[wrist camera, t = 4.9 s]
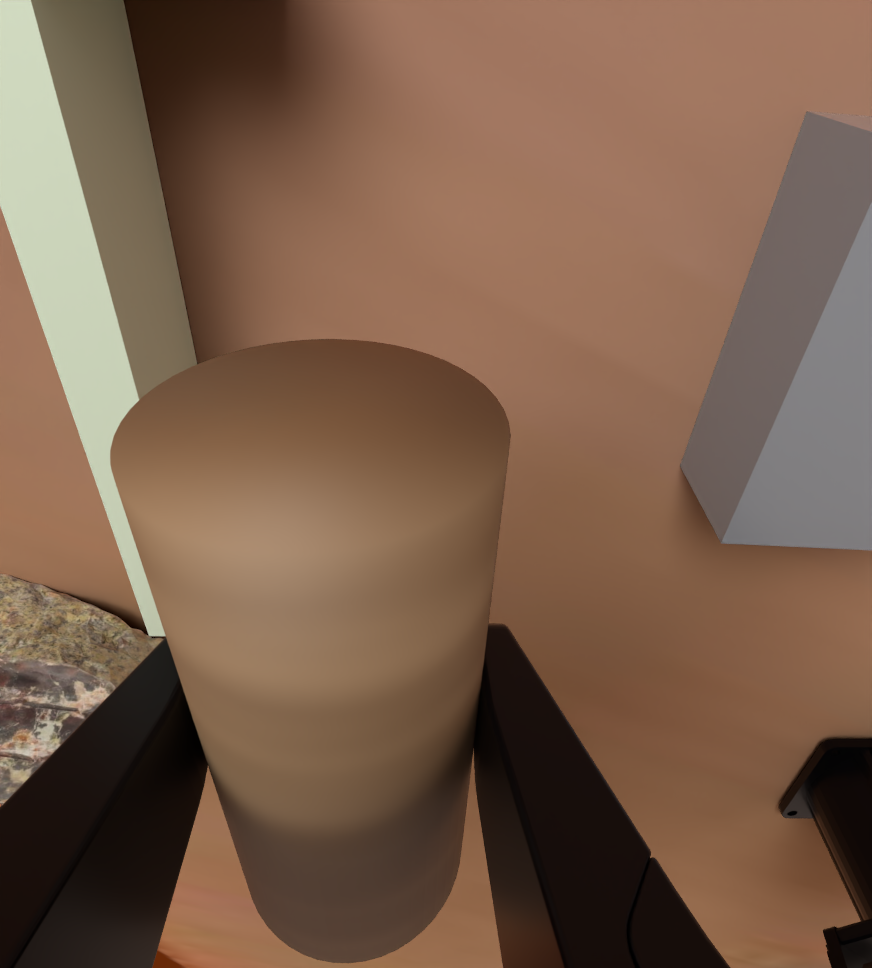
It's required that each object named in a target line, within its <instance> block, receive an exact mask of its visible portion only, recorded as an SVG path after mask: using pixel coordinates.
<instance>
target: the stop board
mask: <svg viewBox="0 0 872 968" xmlns="http://www.w3.org/2000/svg"><path fill="white" fill-rule="evenodd" d="M0 206H1V209H2V212H3V215H4V217H5V220H6V223H7V226H8V229H9V232H10V235H11V238H12V241H13V244H14V246H15V249H16V252H17V255H18V258H19V261H20V264H21V267H22V270H23V272H24V275H25V278H26V281H27V284H28V287H29V290H30V293H31V296H32V299H33V301H34V304H35V307H36V310H37V313H38V316H39V319H40V322H41V325H42V328H43V330H44V333H45V336H46V339H47V342H48V345H49V348H50V351H51V354H52V356H53V359H54V362H55V365H56V368H57V371H58V374H59V377H60V380H61V383H62V385H63V388H64V391H65V394H66V397H67V400H68V403H69V406H70V409H71V412H72V414H73V417H74V420H75V423H76V426H77V429H78V432H79V435H80V438H81V440H82V443H83V446H84V449H85V452H86V455H87V458H88V461H89V464H90V467H91V469H92V472H93V475H94V478H95V481H96V484H97V487H98V490H99V493H100V496H101V498H102V501H103V504H104V507H105V510H106V513H107V516H108V519H109V522H110V525H111V527H112V530H113V533H114V536H115V539H116V542H117V545H118V548H119V551H120V553H121V556H122V559H123V562H124V565H125V568H126V571H127V574H128V577H129V580H130V582H131V585H132V588H133V591H134V594H135V597H136V600H137V603H138V606H139V609H140V611H141V614H142V617H143V620H144V623H145V626H146V629H147V632H148V635H149V636H166V635H165V632H164V629H163V626H162V623H161V620H160V617H159V614H158V611H157V608H156V605H155V602H154V599H153V596H152V593H151V590H150V587H149V584H148V581H147V578H146V575H145V572H144V569H143V565H142V562H141V559H140V556H139V553H138V550H137V547H136V544H135V541H134V538H133V535H132V532H131V529H130V526H129V523H128V520H127V517H126V514H125V511H124V508H123V505H122V502H121V499H120V496H119V493H118V489H117V486H116V483H115V480H114V477H113V473H112V470H111V466H110V449H111V445H112V441H113V437H114V434H115V432H116V430H117V428H118V426H119V424H120V422H121V421H122V419H123V418H124V417H125V415H126V414H127V413H128V411H129V410H130V409H131V408H132V407H133V406H134V405H135V404H136V403H137V402H138V401H139V400H140V399H141V398H142V397H143V396H144V395H146V394H147V393H148V392H150V391H151V390H152V389H153V388H155V387H156V386H157V385H159V384H161V383H162V382H164V381H166V380H167V379H169V378H170V377H172V376H174V375H176V374H178V373H180V372H182V371H184V370H186V369H188V368H190V367H192V366H194V365H197V360H196V355H195V350H194V345H193V340H192V335H191V330H190V325H189V321H188V316H187V311H186V306H185V301H184V296H183V291H182V286H181V281H180V276H179V271H178V266H177V261H176V256H175V252H174V247H173V242H172V237H171V232H170V227H169V222H168V217H167V212H166V207H165V202H164V197H163V192H162V187H161V183H160V178H159V173H158V168H157V163H156V158H155V153H154V148H153V143H152V138H151V133H150V128H149V123H148V118H147V114H146V109H145V104H144V99H143V94H142V89H141V84H140V79H139V74H138V69H137V64H136V59H135V54H134V50H133V45H132V40H131V35H130V30H129V25H128V20H127V15H126V10H125V5H124V0H0Z"/></svg>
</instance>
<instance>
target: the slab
mask: <svg viewBox="0 0 872 968" xmlns="http://www.w3.org/2000/svg"><path fill="white" fill-rule="evenodd" d="M680 467H681V469H682V471H683V473H684V474H685V476H686V478H687V480H688V482H689V484H690V486H691V488H692V490H693V491H694V493H695V495H696V497H697V499H698V501H699V503H700V505H701V507H702V508H703V510H704V512H705V514H706V516H707V518H708V520H709V522H710V523H711V525H712V527H713V529H714V531H715V533H716V535H717V537H718V539H719V540H720V542H721V543H724V544H746V545H767V546H789V547H810V548H832V549H853V550H872V116H859V115H847V114H835V113H822V112H810V111H807V112H806V115H805V117H804V120H803V123H802V126H801V129H800V131H799V134H798V137H797V140H796V143H795V145H794V148H793V151H792V154H791V157H790V159H789V162H788V165H787V168H786V171H785V173H784V176H783V179H782V182H781V185H780V187H779V190H778V193H777V196H776V199H775V201H774V204H773V207H772V210H771V213H770V215H769V218H768V221H767V224H766V227H765V229H764V232H763V235H762V238H761V240H760V243H759V246H758V249H757V252H756V254H755V257H754V260H753V263H752V266H751V268H750V271H749V274H748V277H747V280H746V282H745V285H744V288H743V291H742V294H741V296H740V299H739V302H738V305H737V308H736V310H735V313H734V316H733V319H732V322H731V324H730V327H729V330H728V333H727V336H726V338H725V341H724V344H723V347H722V350H721V352H720V355H719V358H718V361H717V363H716V366H715V369H714V372H713V375H712V377H711V380H710V383H709V386H708V389H707V391H706V394H705V397H704V400H703V403H702V405H701V408H700V411H699V414H698V417H697V419H696V422H695V425H694V428H693V431H692V433H691V436H690V439H689V442H688V445H687V447H686V450H685V453H684V456H683V459H682V461H681V464H680Z"/></svg>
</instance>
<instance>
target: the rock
mask: <svg viewBox="0 0 872 968" xmlns="http://www.w3.org/2000/svg"><path fill="white" fill-rule="evenodd" d="M162 640H163V639H162V638H151V637H150V636H148V635H146V634H144V633H143V632H142V631H141V630H138V629H132V628H130V627H129V626H128V625H127V624H126V623H125V622H124V621H123V620H121V619H120V618H119V617H118V616H115V615H113V614H110V613H108V612H105V611H103V610H101V609H99V608H98V607H96V606H94V605H92V604H88V603H85V602H82V601H80V600H78V599H76V598H74V597H71V596H69V595H67V594H64V593H59V592H56V591H54V590H52V589H50V588H48V587H46V586H44V585H41V584H33V583H29V582H26V581H23V580H20V579H17V578H14V577H12V576H10V575H7V574H0V804H1V806H2V805H3V804H4V803H5V802H6V801H7V800H8V799H9V798H10V797H11V796H12V795H13V794H14V792H15V791H16V790H17V789H18V788H19V787H20V786H21V785H22V784H23V783H24V782H25V781H26V780H27V779H28V778H29V777H30V776H31V775H32V774H33V773H34V772H35V771H36V770H37V769H38V768H39V767H40V766H41V765H42V764H43V763H44V762H45V761H46V760H47V759H48V757H49V756H50V755H51V754H52V753H53V752H54V751H55V750H56V749H57V748H58V747H59V746H60V745H61V744H62V743H63V742H64V741H65V740H66V739H67V738H68V737H69V736H70V735H71V734H72V733H73V732H74V731H75V730H76V729H77V728H78V727H79V726H80V725H81V724H82V722H83V721H84V720H85V719H86V718H87V717H88V716H89V715H90V714H91V713H92V712H93V711H94V710H95V709H96V708H97V707H98V706H99V705H100V704H101V703H102V702H103V701H104V700H105V699H106V698H107V697H108V696H109V695H110V694H111V693H112V692H113V691H114V690H115V689H116V687H117V686H118V685H119V684H120V683H121V682H122V681H123V680H124V679H125V678H126V677H127V676H128V675H129V674H130V673H131V672H132V671H133V670H134V669H135V668H136V667H137V666H138V665H139V664H140V663H141V662H142V661H143V660H144V659H145V658H146V657H147V656H148V655H149V654H150V652H151V651H152V650H153V649H154V648H155V647H156V646H157V645H158V644H159V643H160V642H161V641H162Z"/></svg>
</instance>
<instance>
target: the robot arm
mask: <svg viewBox="0 0 872 968" xmlns="http://www.w3.org/2000/svg"><path fill="white" fill-rule="evenodd" d="M207 767H208V763H207V760H206V757H205V754H204V751H203V748H202V745H201V742H200V739H199V736H198V733H197V730H196V727H195V724H194V721H193V718H192V714H191V711H190V708H189V705H188V702H187V699H186V696H185V693H184V690H183V687H182V684H181V681H180V678H179V675H178V672H177V669H176V666H175V663H174V660H173V657H172V654H171V651H170V648H169V645H168V642H167V638H166V637H165V638H164V639H163V640H162V641H161V642H160V643H159V644H158V645H157V646H156V647H155V648H154V649H153V650H152V651H151V652H150V654H149V655H148V656H147V657H146V658H145V659H144V660H143V661H142V662H141V663H140V664H139V665H138V666H137V667H136V668H135V669H134V670H133V671H132V672H131V673H130V674H129V675H128V676H127V677H126V678H125V679H124V680H123V681H122V682H121V683H120V684H119V685H118V686H117V687H116V689H115V690H114V691H113V692H112V693H111V694H110V695H109V696H108V697H107V698H106V699H105V700H104V701H103V702H102V703H101V704H100V705H99V706H98V707H97V708H96V709H95V710H94V711H93V712H92V713H91V714H90V715H89V716H88V717H87V718H86V719H85V720H84V721H83V722H82V724H81V725H80V726H79V727H78V728H77V729H76V730H75V731H74V732H73V733H72V734H71V735H70V736H69V737H68V738H67V739H66V740H65V741H64V742H63V743H62V744H61V745H60V746H59V747H58V748H57V749H56V750H55V751H54V752H53V753H52V754H51V755H50V756H49V757H48V759H47V760H46V761H45V762H44V763H43V764H42V765H41V766H40V767H39V768H38V769H37V770H36V771H35V772H34V773H33V774H32V775H31V776H30V777H29V778H28V779H27V780H26V781H25V782H24V783H23V784H22V785H21V786H20V787H19V788H18V789H17V790H16V791H15V792H14V794H13V795H12V796H11V797H10V798H9V799H8V800H7V801H6V802H5V803H4V804H3V805H2V806H1V807H0V968H152V966H153V963H154V960H155V956H156V953H157V949H158V946H159V942H160V939H161V935H162V932H163V928H164V925H165V921H166V918H167V914H168V911H169V908H170V904H171V901H172V897H173V894H174V890H175V887H176V883H177V880H178V876H179V873H180V869H181V866H182V862H183V859H184V855H185V852H186V849H187V845H188V842H189V838H190V835H191V831H192V828H193V824H194V821H195V817H196V814H197V810H198V807H199V803H200V799H201V795H202V792H203V788H204V783H205V778H206V772H207ZM474 768H475V783H476V792H477V800H478V807H479V814H480V820H481V827H482V833H483V840H484V846H485V853H486V859H487V866H488V872H489V878H490V885H491V891H492V898H493V904H494V911H495V917H496V924H497V930H498V937H499V943H500V950H501V956H502V963H503V968H730V967H729V965H728V964H727V963H726V961H725V960H724V958H723V957H722V956H721V954H720V953H719V952H718V950H717V949H716V948H715V946H714V945H713V944H712V942H711V941H710V940H709V938H708V937H707V935H706V934H705V932H704V931H703V930H702V928H701V927H700V925H699V924H698V922H697V921H696V919H695V918H694V916H693V915H692V913H691V912H690V910H689V909H688V907H687V906H686V904H685V903H684V901H683V900H682V898H681V897H680V895H679V894H678V892H677V891H676V889H675V888H674V886H673V885H672V883H671V882H670V880H669V878H668V877H667V875H666V874H665V872H664V871H663V869H662V867H661V866H660V864H659V863H658V861H657V860H656V859H655V858H653V857H652V858H650V856H651V851H650V849H649V848H648V846H647V844H646V843H645V841H644V840H643V838H642V837H641V835H640V833H639V832H638V830H637V829H636V827H635V826H634V824H633V822H632V821H631V819H630V818H629V816H628V815H627V813H626V812H625V810H624V808H623V807H622V805H621V804H620V802H619V801H618V799H617V797H616V796H615V794H614V793H613V791H612V790H611V788H610V786H609V785H608V783H607V782H606V780H605V779H604V777H603V775H602V774H601V772H600V771H599V769H598V768H597V766H596V764H595V763H594V761H593V760H592V758H591V757H590V755H589V754H588V752H587V750H586V749H585V747H584V746H583V744H582V743H581V741H580V739H579V738H578V736H577V735H576V733H575V732H574V730H573V728H572V727H571V725H570V724H569V722H568V721H567V719H566V717H565V716H564V714H563V713H562V711H561V710H560V708H559V706H558V705H557V703H556V702H555V700H554V699H553V697H552V696H551V694H550V692H549V691H548V689H547V688H546V686H545V685H544V683H543V681H542V680H541V678H540V677H539V675H538V674H537V672H536V670H535V669H534V667H533V666H532V664H531V663H530V661H529V659H528V658H527V656H526V655H525V653H524V652H523V650H522V648H521V647H520V645H519V644H518V642H517V641H516V639H515V637H514V636H513V634H512V633H511V631H510V630H509V628H508V627H507V626H506V625H504V624H488V630H487V639H486V647H485V656H484V664H483V672H482V681H481V689H480V697H479V706H478V714H477V723H476V731H475V739H474ZM779 809H780V812H781V814H782V816H783V817H785V818H813V819H814V821H815V824H816V826H817V828H818V830H819V832H820V834H821V836H822V839H823V841H824V843H825V845H826V847H827V849H828V851H829V854H830V856H831V858H832V860H833V862H834V864H835V866H836V869H837V871H838V873H839V875H840V877H841V879H842V881H843V884H844V886H845V888H846V890H847V892H848V894H849V896H850V899H851V901H852V903H853V905H854V907H855V909H856V911H857V914H858V916H859V918H860V920H861V922H858V923H854V924H851V925H847V926H844V927H840V928H837V927H835V926H834V927H831V928H828V929H824V930H823V933H824V937H825V940H826V943H827V945H826V947H827V950H828V951H827V954H828V957H829V961H830V964H831V967H832V968H872V739H831V740H827V741H825V742H823V743H822V744H821V745H820V746H819V748H818V749H817V751H816V752H815V754H814V755H813V757H812V758H811V759H810V761H809V762H808V764H807V765H806V767H805V768H804V770H803V771H802V773H801V774H800V776H799V777H798V779H797V780H796V782H795V783H794V785H793V786H792V787H791V789H790V790H789V792H788V793H787V795H786V796H785V798H784V799H783V801H782V802H781V804H780V805H779Z"/></svg>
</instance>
